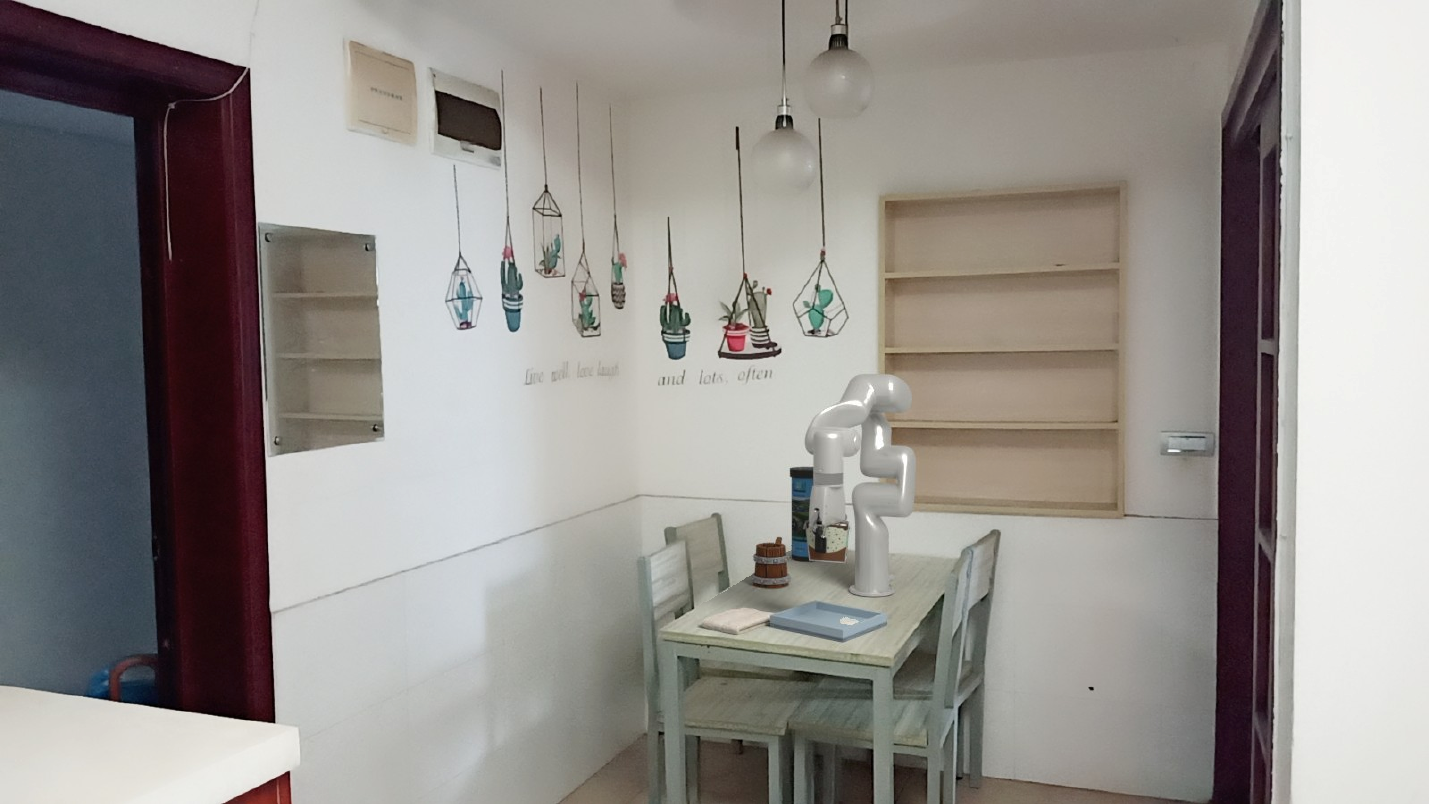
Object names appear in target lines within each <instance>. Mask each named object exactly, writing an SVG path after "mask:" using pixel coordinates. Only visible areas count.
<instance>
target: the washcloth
mask: <svg viewBox="0 0 1429 804" xmlns="http://www.w3.org/2000/svg"><path fill="white" fill-rule="evenodd" d="M775 613H776V612H775ZM775 613H774V612H769V611H768V612H767V611H761V610H758V609H757V608H756V609H755V608H749V607H741V608H738V609H737V608H732V609H731V608H730V609H727V610H726V611H724V612H720V613H719V612H717V613H715V614H713V615H711V616H707V617H705V618H704V619H703V620H702V621H701V627H702V628H704V629H706V630H712V631H718V632H722V633H724V634H729V635H735V636H739V635H743V634H745V633H749V632H751V631H754V630H757V629H760V628H763V627H765V626H769V625H770V615H772V614H775Z"/></svg>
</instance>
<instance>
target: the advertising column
mask: <svg viewBox="0 0 1429 804" xmlns="http://www.w3.org/2000/svg"><path fill="white" fill-rule="evenodd" d="M789 477H790V478H791V560H793V561H797V562H807V563H808V562H810V563H812V562H814V561H809V554H808V545H807V536H806V528H805V529H803V528H804V523H805V521H806V520H809V508H810V496H811V490H812V486H814V485H813V466H795V467H794V466H793V467H790V468H789Z"/></svg>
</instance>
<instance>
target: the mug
mask: <svg viewBox="0 0 1429 804" xmlns="http://www.w3.org/2000/svg"><path fill="white" fill-rule="evenodd" d="M782 541H783V537H782V536H777V537H776V538H775V542H762V543H758V544H756V547H755V553H754V554H753V556H752V559H753V560H752V561H753V562H754V573H752V574H751V581H752V585H753V586H755V587H757V588H760V589H770V590H771V589H772V590H773V589H782V588H786V587H788V586H789V583H790V582H791V579H792V576H790V575H791V574H790V573H788V563H787V562H789V560H790V556H789V554H787V549H786V544H784V543H782Z"/></svg>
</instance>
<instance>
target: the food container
mask: <svg viewBox="0 0 1429 804" xmlns="http://www.w3.org/2000/svg"><path fill="white" fill-rule="evenodd" d="M820 524H822V523H820ZM805 528H806V536H807V545H808V554H809V561H813V562H827V563H838V564H839V563H841V564H846V563H847V557H848V556H847V555H848V549H849V547H848V546H849V538H850V537H849V534H850V533H851V532H852V531H853V530H852V525H851V524H850V520H843V519H842V522H841V523H837V524H832V525H829V526H827V529H826V534H825V537H826V538H827V552H826V553H825V554H824V553H817V552H815V537H814V536H813V534H814V533H813V532H812V530H811V528H810V527H809V520H806V521H805V523H804V528H803V529H805ZM819 528H820V530H821V531H822V528H821V527H819Z"/></svg>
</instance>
